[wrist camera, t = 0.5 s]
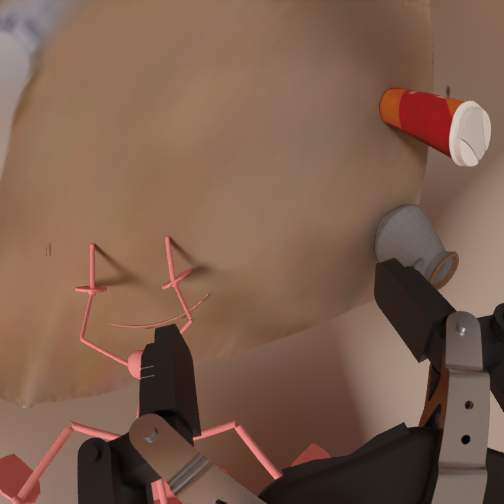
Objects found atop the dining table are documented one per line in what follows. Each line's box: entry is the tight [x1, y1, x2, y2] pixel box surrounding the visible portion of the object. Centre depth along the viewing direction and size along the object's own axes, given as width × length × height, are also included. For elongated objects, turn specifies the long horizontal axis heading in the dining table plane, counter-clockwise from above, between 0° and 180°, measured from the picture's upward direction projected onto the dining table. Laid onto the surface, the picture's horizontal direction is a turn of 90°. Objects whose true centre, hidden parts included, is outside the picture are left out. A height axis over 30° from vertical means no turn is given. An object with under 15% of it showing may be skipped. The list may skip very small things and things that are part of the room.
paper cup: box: [380, 88, 491, 166], centre depth 29 cm, size 8×8×14 cm
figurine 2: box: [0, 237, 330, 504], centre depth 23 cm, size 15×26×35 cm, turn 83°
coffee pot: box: [374, 205, 459, 290], centre depth 39 cm, size 21×12×15 cm, turn 75°
